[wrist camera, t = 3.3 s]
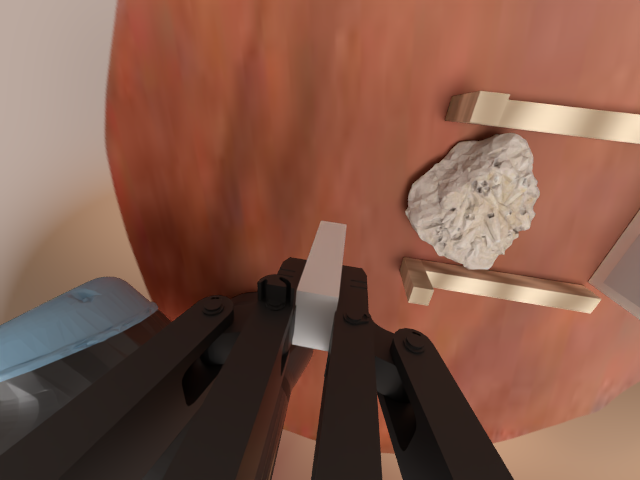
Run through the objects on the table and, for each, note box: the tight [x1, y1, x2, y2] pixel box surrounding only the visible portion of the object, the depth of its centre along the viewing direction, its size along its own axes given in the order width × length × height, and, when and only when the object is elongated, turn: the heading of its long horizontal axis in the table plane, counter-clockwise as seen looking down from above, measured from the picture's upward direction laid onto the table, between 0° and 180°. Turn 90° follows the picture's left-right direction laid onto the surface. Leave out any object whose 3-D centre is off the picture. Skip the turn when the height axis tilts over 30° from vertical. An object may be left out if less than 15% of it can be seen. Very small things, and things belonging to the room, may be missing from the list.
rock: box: [405, 133, 540, 270], centre depth 24 cm, size 11×11×6 cm
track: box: [400, 91, 640, 313], centre depth 24 cm, size 20×19×6 cm
